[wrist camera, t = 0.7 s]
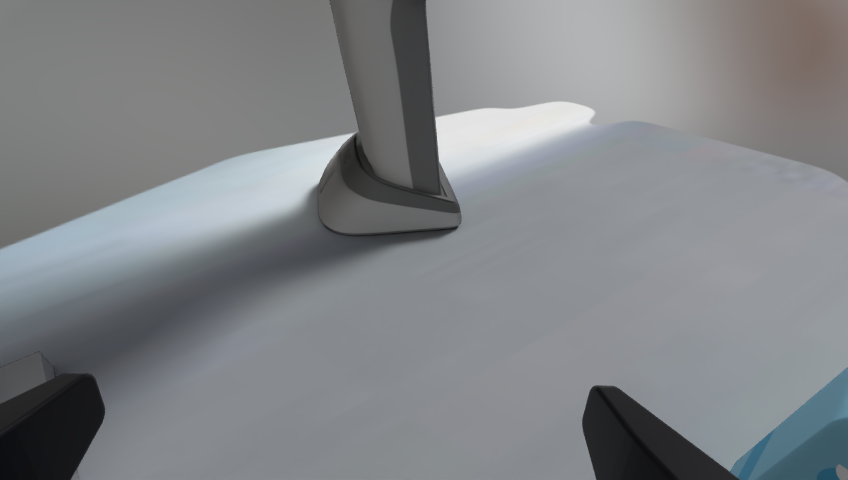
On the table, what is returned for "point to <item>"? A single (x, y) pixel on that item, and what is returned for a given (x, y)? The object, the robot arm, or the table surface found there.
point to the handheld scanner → (387, 126)
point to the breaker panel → (25, 378)
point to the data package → (805, 441)
